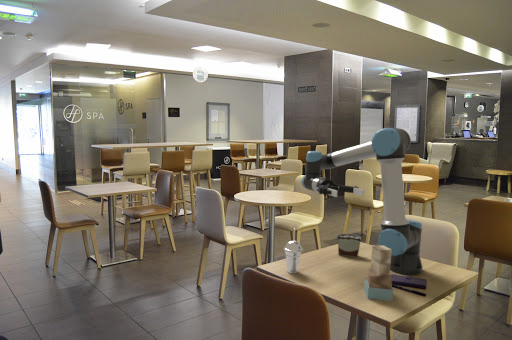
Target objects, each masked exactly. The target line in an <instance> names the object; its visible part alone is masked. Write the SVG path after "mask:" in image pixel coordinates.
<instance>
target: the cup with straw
mask: <svg viewBox="0 0 512 340" xmlns="http://www.w3.org/2000/svg"><path fill="white" fill-rule="evenodd" d="M296 228H297V224H296V223H295V224H294V227H293V236H292V238H293V239H291V240H289V241H288V242H286V243H285V246H284V247H283V251H284V253H285V259H286V260H285V261H286V272H287V273H289V274H296V273H298V269H299V264H300V259H301V258H300V257H301V255H302V252H303V251H304V249H303V247H302V245H301V244H300V242H299V241H297V240H296Z"/></svg>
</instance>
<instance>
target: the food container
mask: <svg viewBox="0 0 512 340" xmlns="http://www.w3.org/2000/svg"><path fill="white" fill-rule="evenodd" d="M336 240H337V249H338V250H337V252H338V256H344V257H353V258H354V257H355V258H358V256H359V251H360V245H361V243H362V237H361V236H359V235H357V234H354V233H353V234H352V233H339V234H338V235H337V237H336Z"/></svg>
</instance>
